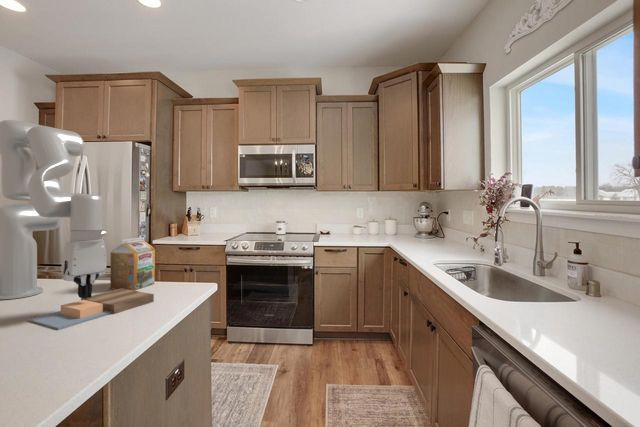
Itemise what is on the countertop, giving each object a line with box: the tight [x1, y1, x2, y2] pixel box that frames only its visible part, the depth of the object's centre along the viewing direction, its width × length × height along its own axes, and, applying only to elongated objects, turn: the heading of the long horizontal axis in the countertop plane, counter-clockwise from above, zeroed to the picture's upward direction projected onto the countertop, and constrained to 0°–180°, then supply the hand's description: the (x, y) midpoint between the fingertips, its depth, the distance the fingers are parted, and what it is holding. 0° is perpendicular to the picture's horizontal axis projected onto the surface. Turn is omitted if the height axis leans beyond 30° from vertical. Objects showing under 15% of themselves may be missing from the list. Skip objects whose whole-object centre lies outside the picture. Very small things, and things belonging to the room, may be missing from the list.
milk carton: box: [109, 236, 156, 291], centre depth 120 cm, size 11×11×19 cm
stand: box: [80, 288, 155, 315], centre depth 99 cm, size 16×13×2 cm
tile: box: [60, 299, 103, 318], centre depth 89 cm, size 9×6×2 cm, turn 68°
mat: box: [27, 310, 113, 331], centre depth 86 cm, size 14×13×1 cm
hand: (85, 297), depth 90 cm, fingers closed
